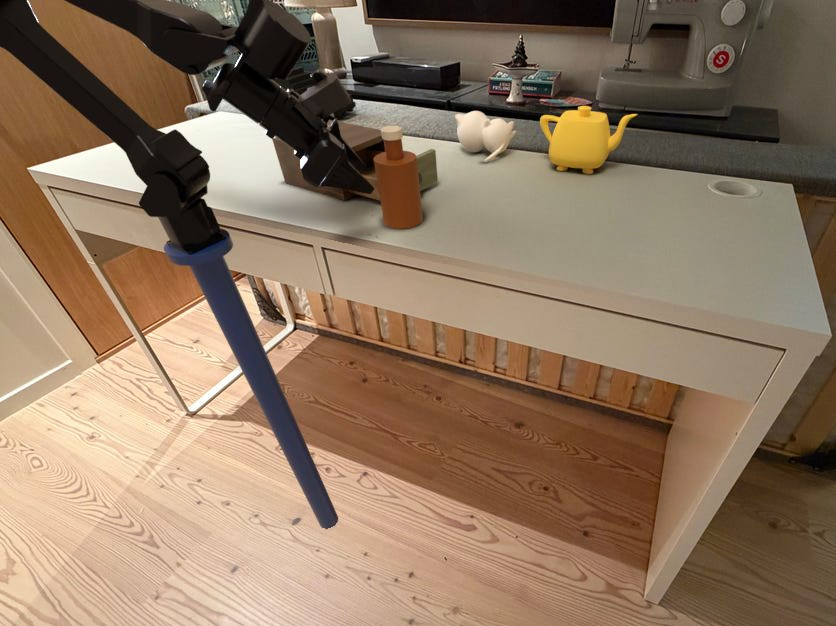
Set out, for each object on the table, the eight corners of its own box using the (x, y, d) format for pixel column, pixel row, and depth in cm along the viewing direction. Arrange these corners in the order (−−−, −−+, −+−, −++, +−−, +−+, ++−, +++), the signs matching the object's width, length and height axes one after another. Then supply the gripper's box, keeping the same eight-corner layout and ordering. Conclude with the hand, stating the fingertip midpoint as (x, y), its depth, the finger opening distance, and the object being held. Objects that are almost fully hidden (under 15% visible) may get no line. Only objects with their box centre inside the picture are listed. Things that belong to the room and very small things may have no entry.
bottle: (399, 233, 72) (385, 138, 63) (376, 220, 76) (360, 128, 66) (430, 219, 75) (422, 128, 66) (407, 208, 79) (395, 119, 69)
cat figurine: (513, 105, 91) (460, 97, 95) (494, 149, 89) (440, 139, 93) (520, 138, 100) (470, 129, 103) (502, 178, 98) (452, 168, 101)
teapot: (629, 161, 94) (640, 103, 87) (623, 181, 86) (635, 119, 79) (543, 152, 99) (547, 96, 91) (530, 170, 91) (534, 111, 84)
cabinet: (396, 175, 90) (390, 131, 85) (344, 200, 82) (334, 154, 76) (338, 160, 97) (329, 119, 91) (285, 182, 88) (271, 138, 83)
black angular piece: (280, 102, 133) (269, 62, 126) (364, 112, 124) (357, 69, 118) (249, 113, 125) (236, 71, 118) (337, 124, 116) (328, 79, 109)
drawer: (443, 183, 85) (441, 151, 81) (394, 211, 76) (389, 176, 72) (373, 165, 92) (368, 135, 88) (321, 189, 83) (312, 157, 80)
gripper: (304, 65, 51) (413, 157, 61) (301, 40, 64) (391, 119, 74) (253, 147, 54) (364, 221, 64) (260, 107, 68) (351, 174, 77)
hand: (368, 179), depth 70 cm, fingers open, 9 cm apart
